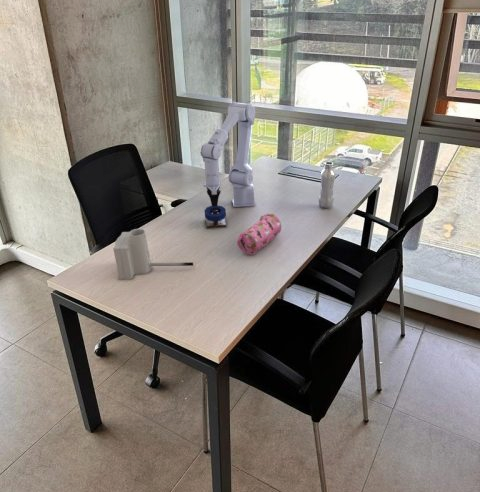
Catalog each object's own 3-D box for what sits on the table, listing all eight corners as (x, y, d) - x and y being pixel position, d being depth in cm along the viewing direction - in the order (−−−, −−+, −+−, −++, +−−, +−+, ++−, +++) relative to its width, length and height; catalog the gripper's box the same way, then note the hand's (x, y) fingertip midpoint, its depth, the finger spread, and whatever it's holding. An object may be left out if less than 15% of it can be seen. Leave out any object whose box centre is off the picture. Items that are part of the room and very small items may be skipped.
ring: (224, 209, 195) (224, 204, 193) (226, 220, 188) (226, 215, 187) (204, 210, 194) (204, 206, 193) (205, 222, 187) (205, 217, 186)
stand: (224, 218, 196) (223, 206, 193) (226, 227, 190) (225, 213, 186) (206, 220, 196) (205, 207, 193) (207, 228, 189) (205, 215, 186)
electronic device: (126, 261, 168) (119, 224, 160) (195, 260, 167) (192, 223, 159) (117, 279, 158) (109, 241, 150) (191, 278, 157) (187, 240, 149)
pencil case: (262, 230, 186) (262, 210, 181) (282, 234, 182) (283, 214, 177) (235, 253, 170) (234, 232, 166) (257, 259, 166) (257, 237, 162)
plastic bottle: (316, 208, 202) (319, 164, 192) (320, 202, 208) (323, 160, 197) (331, 210, 200) (334, 166, 190) (334, 204, 205) (338, 161, 195)
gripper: (201, 168, 190) (204, 198, 197) (203, 180, 178) (205, 212, 185) (218, 167, 191) (220, 197, 198) (221, 179, 178) (222, 210, 186)
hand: (214, 204), depth 192 cm, fingers open, 3 cm apart
